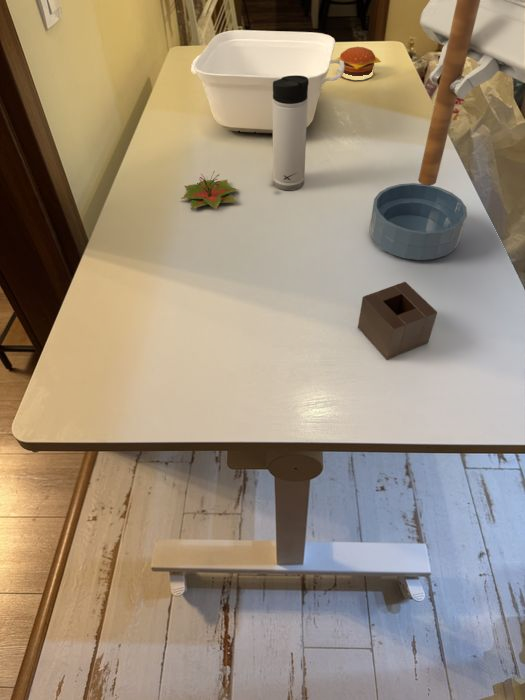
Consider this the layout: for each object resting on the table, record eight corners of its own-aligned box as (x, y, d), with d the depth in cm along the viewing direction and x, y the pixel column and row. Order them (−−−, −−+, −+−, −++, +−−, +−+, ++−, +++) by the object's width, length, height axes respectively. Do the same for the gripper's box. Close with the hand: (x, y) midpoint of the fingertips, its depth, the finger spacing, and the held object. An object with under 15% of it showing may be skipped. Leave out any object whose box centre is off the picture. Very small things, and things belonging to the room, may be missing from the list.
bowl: (440, 209, 96) (448, 180, 92) (470, 259, 86) (481, 229, 82) (360, 216, 96) (364, 186, 91) (381, 267, 85) (387, 236, 81)
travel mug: (291, 195, 101) (294, 87, 86) (266, 183, 104) (264, 78, 89) (311, 182, 104) (317, 76, 89) (286, 171, 107) (288, 67, 92)
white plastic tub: (343, 98, 131) (349, 33, 120) (334, 151, 112) (340, 79, 102) (213, 92, 136) (207, 28, 125) (183, 142, 117) (173, 72, 106)
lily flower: (175, 186, 104) (172, 164, 101) (233, 177, 106) (232, 156, 103) (184, 218, 96) (181, 196, 93) (247, 208, 98) (245, 186, 95)
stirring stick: (432, 175, 72) (476, -11, 56) (438, 184, 71) (485, -5, 55) (416, 177, 72) (455, -10, 56) (421, 186, 71) (463, -4, 54)
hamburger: (355, 66, 146) (358, 40, 141) (380, 76, 141) (384, 49, 136) (330, 74, 142) (333, 47, 138) (355, 84, 137) (358, 57, 132)
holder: (398, 311, 78) (405, 281, 74) (428, 342, 74) (437, 312, 69) (357, 327, 76) (362, 296, 72) (386, 360, 72) (393, 329, 67)
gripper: (619, 24, 54) (515, 137, 58) (482, -20, 66) (406, 76, 71) (609, -21, 49) (497, 105, 54) (464, -59, 62) (383, 46, 66)
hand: (444, 88), depth 62 cm, fingers closed on stirring stick, 2 cm apart
